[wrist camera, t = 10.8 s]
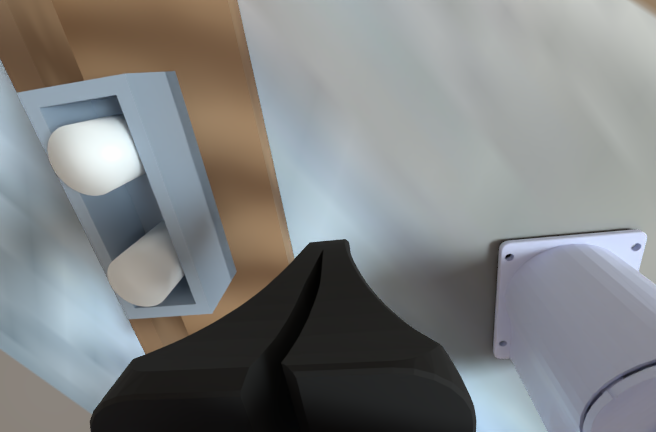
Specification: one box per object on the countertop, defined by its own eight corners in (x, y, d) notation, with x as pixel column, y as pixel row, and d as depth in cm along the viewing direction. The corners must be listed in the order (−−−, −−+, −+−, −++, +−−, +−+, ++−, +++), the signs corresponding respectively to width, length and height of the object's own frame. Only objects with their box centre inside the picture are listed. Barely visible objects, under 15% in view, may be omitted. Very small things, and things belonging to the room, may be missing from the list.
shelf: (307, 315, 25) (298, 359, 21) (180, 323, 26) (151, 366, 22) (225, -52, 16) (186, -85, 12) (41, -11, 17) (-43, -30, 14)
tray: (236, 271, 22) (204, 326, 17) (165, 277, 22) (116, 332, 18) (175, 71, 17) (107, 74, 12) (86, 86, 18) (-8, 94, 13)
